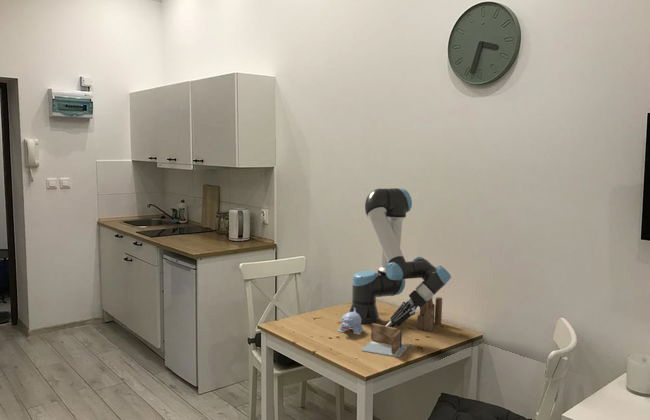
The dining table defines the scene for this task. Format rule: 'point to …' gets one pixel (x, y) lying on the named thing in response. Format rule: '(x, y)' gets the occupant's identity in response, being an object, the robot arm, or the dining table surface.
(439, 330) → the dining table surface
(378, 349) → the card
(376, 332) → the fence panel
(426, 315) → the wooden toy
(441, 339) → the dining table surface
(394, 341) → the fence fixed
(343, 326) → the hippopotamus toy
